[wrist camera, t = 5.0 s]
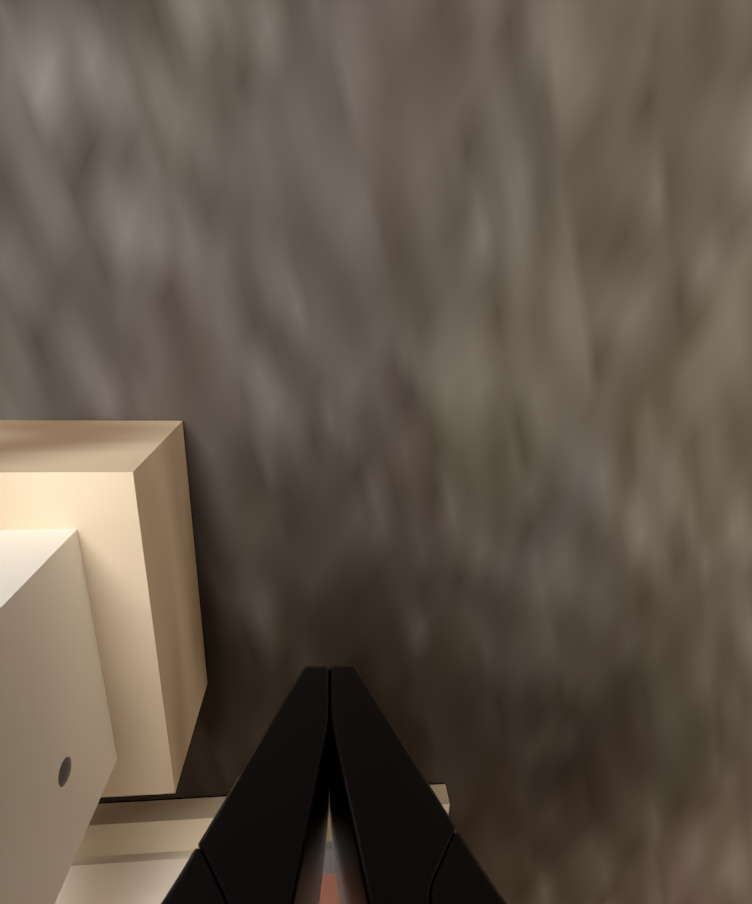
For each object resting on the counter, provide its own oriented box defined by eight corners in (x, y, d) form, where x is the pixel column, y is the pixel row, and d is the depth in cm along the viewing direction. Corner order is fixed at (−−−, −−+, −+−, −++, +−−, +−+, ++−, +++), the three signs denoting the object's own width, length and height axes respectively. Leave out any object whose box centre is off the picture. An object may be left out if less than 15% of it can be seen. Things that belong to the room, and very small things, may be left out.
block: (182, 420, 11) (132, 472, 8) (207, 683, 13) (175, 792, 11) (-175, 418, 11) (-360, 473, 8) (-85, 694, 13) (-202, 814, 10)
